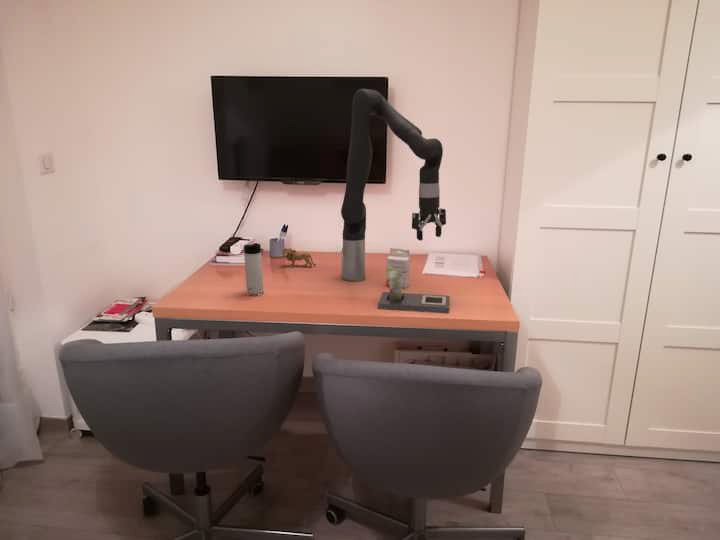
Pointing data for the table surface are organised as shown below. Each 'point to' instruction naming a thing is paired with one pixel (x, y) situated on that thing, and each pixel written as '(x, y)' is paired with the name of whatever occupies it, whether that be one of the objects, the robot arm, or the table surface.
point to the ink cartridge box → (398, 265)
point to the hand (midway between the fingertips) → (429, 238)
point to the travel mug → (253, 269)
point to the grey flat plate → (416, 302)
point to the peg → (395, 286)
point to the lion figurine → (297, 256)
